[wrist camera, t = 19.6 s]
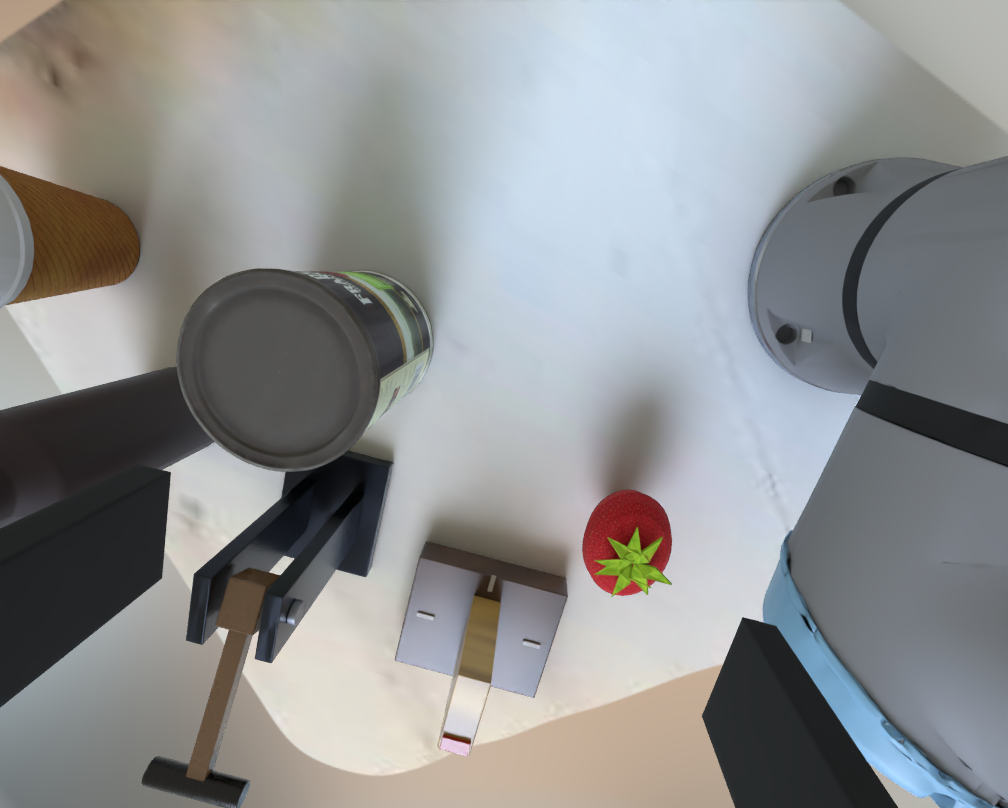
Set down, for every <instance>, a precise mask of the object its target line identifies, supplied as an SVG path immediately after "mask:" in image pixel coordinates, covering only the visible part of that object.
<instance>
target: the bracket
mask: <svg viewBox="0 0 1008 808" xmlns="http://www.w3.org/2000/svg"><path fill="white" fill-rule="evenodd" d="M392 467H393V463H392V462H389V461H385V460H381V459H377V458H374V457H370V456H366V455H362V454H359V453H355V452H351V451H346V452H345V453H344V454H342V455H341V456H340V457H338V458H337V459H335V460H333V461H331V462H329V463H327V464H325V465H323V466H320V467H317V468H314V469H310V470H305V471H295V472H286V473H285V479H284V485H283V491H282V497H281V499H280V500H279V501H278V502H276V503H275V504H274V505H273V506H272V507H271V508H269V509H268V510H267V511H266V512H265V513H264V514H263V515H261V516H260V517H259V518H258V519H257V520H256V521H254V522H253V523H252V524H251V525H250V526H249V527H248V528H246V529H245V530H244V531H243V532H242V533H241V534H239V535H238V536H237V537H236V538H235V539H234V540H233V541H231V542H230V543H229V544H228V545H227V546H226V547H224V548H223V549H222V550H221V551H220V552H219V553H218V554H216V555H215V556H214V557H213V558H212V559H211V560H209V561H208V562H207V563H206V564H205V565H204V566H203V567H201V568H200V569H199V570H198V571H197V572H196V573H194V577H193V586H192V594H191V602H190V611H189V619H188V628H187V636H186V640H187V641H190V642H193V643H197V644H201V645H202V644H204V642H205V641H206V640H207V639H208V638H209V637H210V636H211V635H212V634H213V633H214V632H215V630H216V629H217V628H218V626H216V621H217V618H218V614H219V611H220V608H221V604H222V601H223V598H224V594H225V591H226V587H227V584H228V581H229V578H230V577H231V576H233V575H235V574H237V573H239V572H241V571H243V570H245V569H247V568H249V567H250V568H254V569H258V570H261V571H265V572H269V571H270V570H271V569H272V568H273V567H274V566H275V565H276V563H277V562H278V561H279V560H280V559H281V558H282V557H283V556H288V557H292V558H295V559H294V560H293V562H292V563H291V564H290V565H289V566H288V567H287V569H286V570H285V571H284V572H283V573H282V574H281V576H280V577H279V578H278V579H277V580H276V581H275V582H274V584H273V585H272V586H271V587H270V588H269V589H268V591H267V592H266V593H265V599H264V605H263V611H262V617H261V623H260V630H259V636H258V642H257V648H256V655H255V659H257V660H260V661H264V662H268V663H272V662H273V660H274V659H275V657H276V656H277V654H278V653H279V652H280V650H281V649H282V647H283V646H284V644H285V643H286V641H287V640H288V639H289V637H290V636H291V634H292V633H293V631H294V630H295V628H296V627H297V625H298V624H299V623H300V621H301V620H302V618H303V617H304V615H305V614H306V612H307V611H308V610H309V608H310V607H311V605H312V604H313V602H314V601H315V599H316V598H317V596H318V595H319V594H320V592H321V591H322V589H323V588H324V586H325V585H326V583H327V582H328V581H329V579H330V578H331V576H332V575H333V573H334V572H335V570H336V569H337V570H340V571H344V572H348V573H352V574H355V575H359V576H363V577H366V576H367V574H368V573H369V571H370V569H371V564H372V560H373V555H374V550H375V546H376V541H377V536H378V532H379V527H380V523H381V518H382V513H383V509H384V504H385V499H386V495H387V490H388V486H389V481H390V476H391V472H392Z"/></svg>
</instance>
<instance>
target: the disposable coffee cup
mask: <svg viewBox="0 0 1008 808" xmlns="http://www.w3.org/2000/svg"><path fill="white" fill-rule="evenodd" d="M139 252H140V248H139V240H138V236H137V232H136V230H135V228H134V226H133V224H132V222H131V221H130V219H129V218H128V217H127V216H126V215H125V214H124V213H123V211H122V210H121V209H119V208H118V207H117V206H115V205H114V204H112V203H110V202H108V201H106V200H103V199H99V198H96V197H93V196H90V195H87V194H84V193H81V192H78V191H75V190H72V189H69V188H66V187H63V186H60V185H57V184H54V183H51V182H48V181H45V180H41V179H38V178H35V177H32V176H29V175H26V174H23V173H20V172H17V171H14V170H10V169H7V168H5V167H1V166H0V308H1V307H3V306H5V305H10V304H14V303H20V302H26V301H31V300H37V299H40V298H46V297H52V296H57V295H62V294H68V293H72V292H78V291H83V290H89V289H93V288H99V287H104V286H110V285H115V284H118V283H120V282H123V281H124V280H126V279H127V278H128V277H129V276H130V275H131V274H132V273H133V271H134V270H135V268H136V266H137V263H138V260H139Z"/></svg>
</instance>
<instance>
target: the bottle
mask: <svg viewBox="0 0 1008 808" xmlns="http://www.w3.org/2000/svg"><path fill="white" fill-rule="evenodd" d="M213 442H214V440H212V439H211V438H210V437H209V436H208V434H207V433H206V432H205V431H204V430H203V429H202V427H201V426H200V424H199V423H198V422H197V421H196V419H195V418H194V416H193V414H192V413H191V411H190V409H189V407H188V405H187V403H186V401H185V398H184V396H183V393H182V389H181V386H180V383H179V378H178V372H177V367H173V368H166V369H162V370H158V371H154V372H150V373H146V374H142V375H138V376H134V377H130V378H126V379H122V380H118V381H114V382H110V383H106V384H102V385H98V386H95V387H91V388H87V389H83V390H79V391H75V392H71V393H67V394H63V395H59V396H55V397H52V398H47V399H43V400H39V401H35V402H31V403H27V404H24V405H20V406H15V407H12V408H8V409H4V410H0V528H2V527H5V526H7V525H9V524H11V523H13V522H15V521H17V520H19V519H22V518H24V517H26V516H28V515H30V514H32V513H34V512H37V511H39V510H41V509H43V508H45V507H47V506H49V505H51V504H54V503H56V502H58V501H60V500H62V499H64V498H66V497H69V496H71V495H73V494H75V493H77V492H79V491H81V490H83V489H86V488H88V487H90V486H92V485H94V484H96V483H98V482H101V481H103V480H105V479H107V478H109V477H111V476H113V475H115V474H118V473H120V472H122V471H124V470H126V469H128V468H130V467H133V466H135V465H137V464H140V465H144V466H148V467H152V468H156V469H159V470H163V469H165V468H167V467H168V466H170V465H172V464H174V463H176V462H178V461H180V460H182V459H184V458H186V457H188V456H190V455H192V454H194V453H195V452H197V451H199V450H201V449H203V448H205V447H207V446H209V445H211V444H212V443H213Z"/></svg>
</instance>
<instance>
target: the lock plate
mask: <svg viewBox="0 0 1008 808" xmlns="http://www.w3.org/2000/svg"><path fill="white" fill-rule="evenodd" d="M474 596H479V597H482V598H486V599H490V600H494V601H497V602H500V603H501V606H500V614H499V623H498V631H497V640H496V648H495V657H494V665H493V674H492V682H491V686H492V687H496V688H499V689H503V690H507V691H510V692H514V693H518V694H522V695H525V696H529V697H533V698H534V697H535V694H536V691H537V688H538V685H539V682H540V679H541V676H542V673H543V670H544V667H545V664H546V661H547V658H548V655H549V652H550V649H551V646H552V642H553V639H554V636H555V633H556V630H557V627H558V624H559V621H560V618H561V615H562V612H563V609H564V606H565V603H566V600H567V597H568V595H567V583H566V579H565V578H562V577H558V576H554V575H550V574H547V573H543V572H539V571H536V570H532V569H528V568H524V567H521V566H517V565H513V564H509V563H506V562H502V561H498V560H494V559H491V558H487V557H483V556H479V555H476V554H472V553H468V552H464V551H461V550H457V549H453V548H449V547H446V546H442V545H438V544H434V543H431V542H426V543H425V545H424V548H423V550H422V552H421V555H420V557H419V561H418V565H417V569H416V574H415V578H414V582H413V586H412V590H411V594H410V598H409V602H408V607H407V611H406V615H405V619H404V623H403V627H402V631H401V636H400V640H399V644H398V648H397V652H396V656H395V661H398V662H402V663H406V664H410V665H413V666H417V667H421V668H424V669H428V670H432V671H436V672H439V673H443V674H447V675H451V676H453V672H454V667H455V663H456V658H457V654H458V651H459V647H460V644H461V640H462V636H463V633H464V629H465V626H466V622H467V619H468V615H469V612H470V608H471V604H472V601H473V597H474Z"/></svg>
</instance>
